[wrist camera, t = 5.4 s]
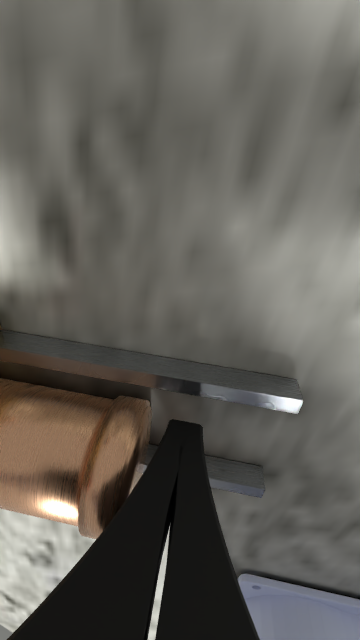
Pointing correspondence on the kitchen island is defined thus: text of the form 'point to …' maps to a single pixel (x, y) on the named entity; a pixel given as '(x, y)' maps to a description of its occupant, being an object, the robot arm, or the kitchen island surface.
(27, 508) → the coupling
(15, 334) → the rails
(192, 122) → the kitchen island surface
